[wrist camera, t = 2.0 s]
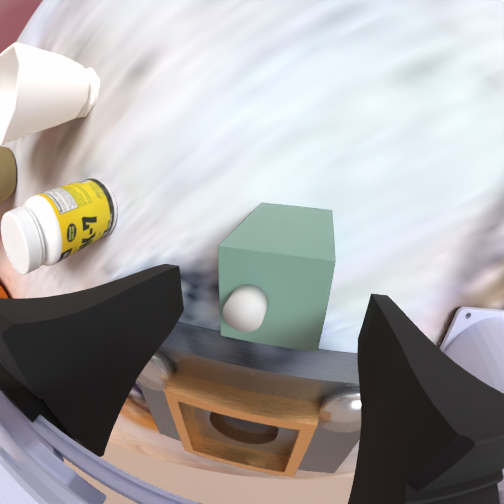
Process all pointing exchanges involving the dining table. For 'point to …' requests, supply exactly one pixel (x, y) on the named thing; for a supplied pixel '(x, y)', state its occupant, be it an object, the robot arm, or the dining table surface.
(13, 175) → the squeeze bottle
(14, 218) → the supplement bottle
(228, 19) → the dining table surface
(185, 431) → the grey framed base plate
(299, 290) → the spout tin
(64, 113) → the cup
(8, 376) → the robot arm
